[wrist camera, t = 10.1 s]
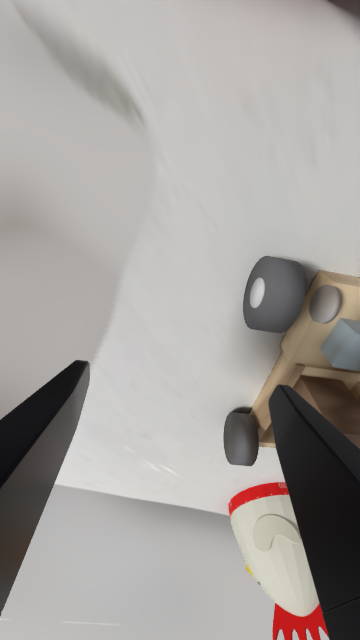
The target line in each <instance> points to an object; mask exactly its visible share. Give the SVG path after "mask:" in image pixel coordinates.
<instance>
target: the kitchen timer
mask: <svg viewBox="0 0 360 640" xmlns="http://www.w3.org/2000/svg"><path fill="white" fill-rule="evenodd" d="M229 513H230V520H231V524H232V528H233V531H234V534H235V537H236V540H237V542H238V545H239V547H240V550H241V552H242V554H243V557H244V559H245V561H246V563H247V567H246V569H247V571H248V572H249V573H250V574H251V575H252V576H253V577H254V578H255V579H256V580H257V582H258V583H259V585H260V586H261V587H262V589H263V590H264V591H265V592H266V593H267V595H268V596H269V597H270V598H271V599H272V600H273V601H274V602H275V611H274V620H273V640H277V636H278V633H279V630H280V629H282V631H283V634H284V638H285V640H292V632H293V630H294V629H295V630H296V632H297V634H298V637H299V640H307V637H306V628H307V629H308V630H309V631H310V634H311V636H312V638H313V640H320V635H319V630H318V627H319V626H320V627H321V628H322V629H323V630H324V632H325V633H326V634H327V636H328V633H327V629H326V626H325V622H324V619H323V615H322V610H321V607H320V603H319V600H318V596H317V593H316V589H315V586H314V582H313V578H312V575H311V571H310V568H309V564H308V561H307V557H306V553H305V550H304V546H303V543H302V539H301V536H300V532H299V528H298V525H297V521H296V518H295V514H294V511H293V507H292V503H291V500H290V496H289V493H288V489H287V486H286V482H276V483H268V484H262V485H258V486H255V487H251V488H248V489H246V490H244V491H242V492H240V493H238V494H237V495H236V496H234V497H233V498H232V499H231V501H230V502H229ZM328 637H329V636H328Z"/></svg>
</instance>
